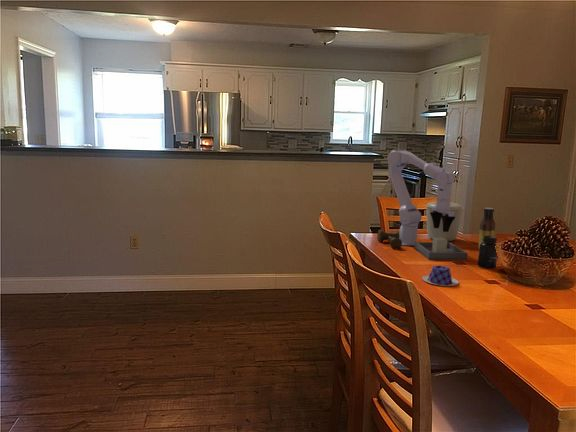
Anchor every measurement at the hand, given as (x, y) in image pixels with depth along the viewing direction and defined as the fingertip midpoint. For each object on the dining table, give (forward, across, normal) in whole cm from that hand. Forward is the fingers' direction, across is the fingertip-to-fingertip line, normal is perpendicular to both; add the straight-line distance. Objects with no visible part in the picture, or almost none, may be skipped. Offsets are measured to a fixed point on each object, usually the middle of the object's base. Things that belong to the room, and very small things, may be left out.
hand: (440, 229), depth 199 cm
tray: (+9, +6, -3) cm, 11 cm away
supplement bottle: (+10, +25, +6) cm, 28 cm away
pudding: (+10, +40, -23) cm, 47 cm away
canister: (+10, -21, +14) cm, 27 cm away
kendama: (+10, -15, -16) cm, 24 cm away
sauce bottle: (+10, +5, +19) cm, 22 cm away
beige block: (+9, +6, -3) cm, 11 cm away
